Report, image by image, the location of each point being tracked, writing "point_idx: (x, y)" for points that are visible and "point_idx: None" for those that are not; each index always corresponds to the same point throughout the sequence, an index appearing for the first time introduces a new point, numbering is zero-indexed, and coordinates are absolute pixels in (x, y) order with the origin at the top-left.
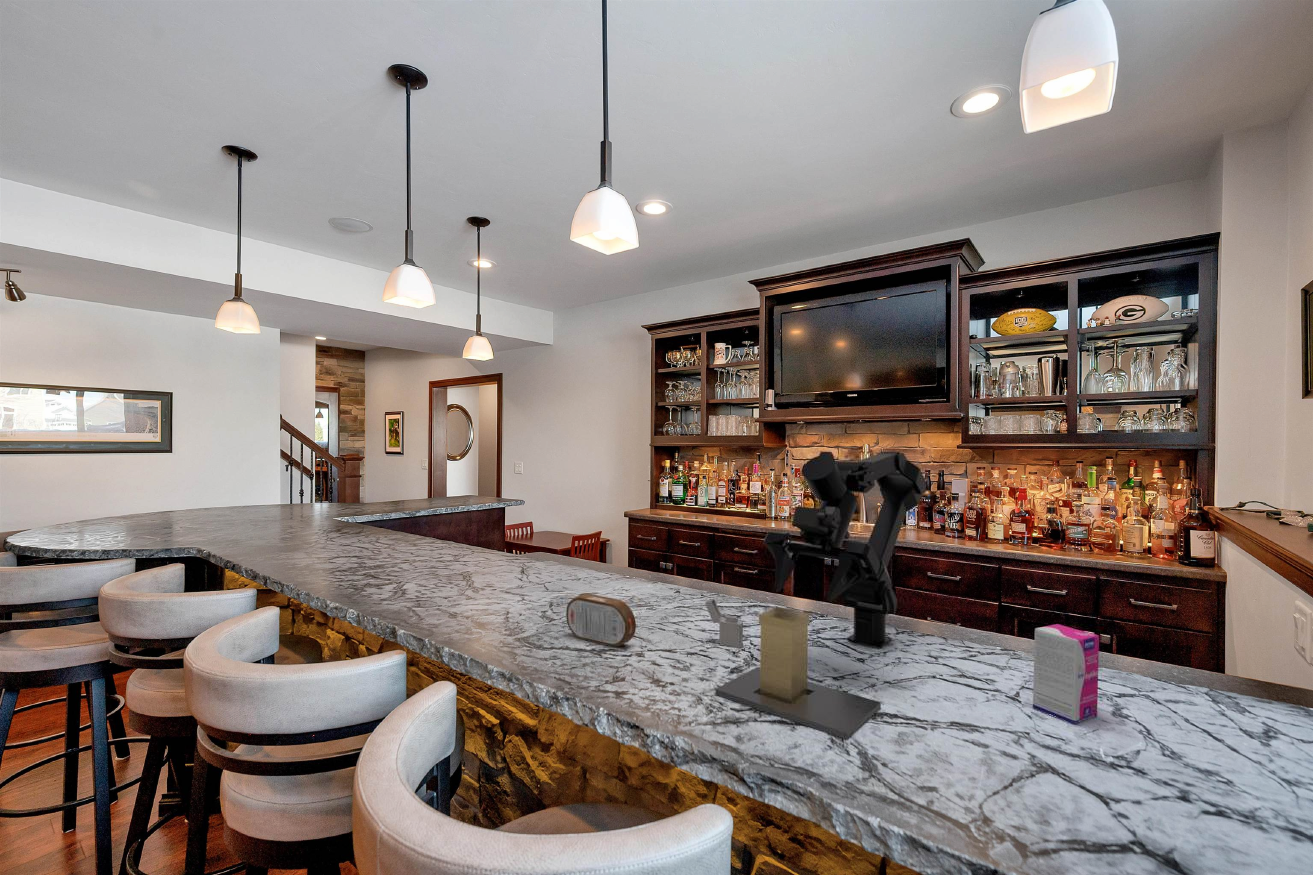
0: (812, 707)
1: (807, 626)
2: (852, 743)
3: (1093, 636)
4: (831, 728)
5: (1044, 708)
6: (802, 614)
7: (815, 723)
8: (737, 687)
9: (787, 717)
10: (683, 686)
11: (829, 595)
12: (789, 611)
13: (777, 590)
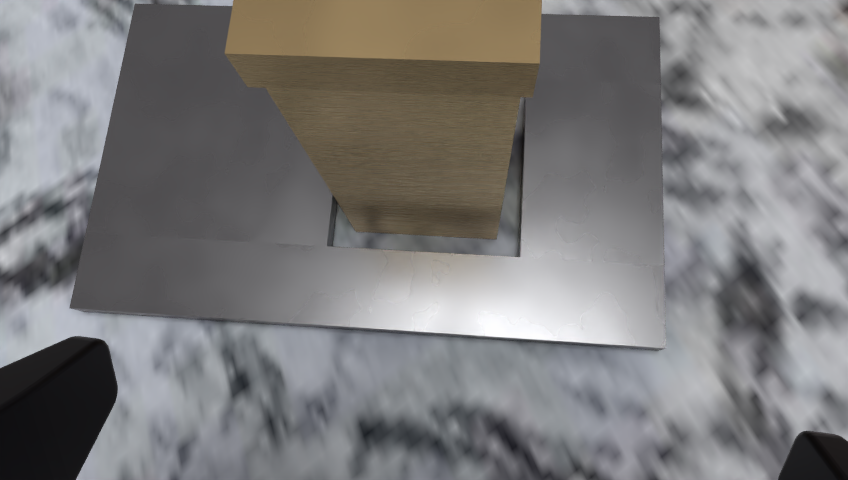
0: None
1: (270, 93)
2: (126, 6)
3: None
4: (185, 6)
5: None
6: (268, 2)
7: None
8: (601, 82)
9: None
10: (800, 16)
11: (50, 351)
12: (389, 11)
13: (789, 453)
